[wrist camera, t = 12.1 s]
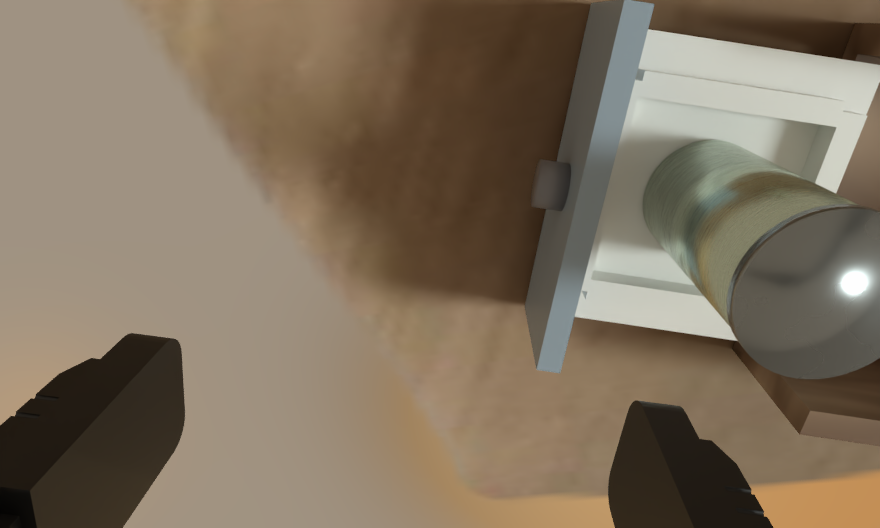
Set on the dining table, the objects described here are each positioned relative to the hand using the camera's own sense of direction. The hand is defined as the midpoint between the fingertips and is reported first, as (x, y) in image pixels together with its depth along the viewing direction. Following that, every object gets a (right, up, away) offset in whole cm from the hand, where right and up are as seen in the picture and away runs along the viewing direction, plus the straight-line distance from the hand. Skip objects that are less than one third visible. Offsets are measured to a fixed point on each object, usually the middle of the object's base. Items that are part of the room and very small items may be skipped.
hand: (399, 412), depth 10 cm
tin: (+12, +5, +16) cm, 21 cm away
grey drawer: (+11, +6, +18) cm, 22 cm away
